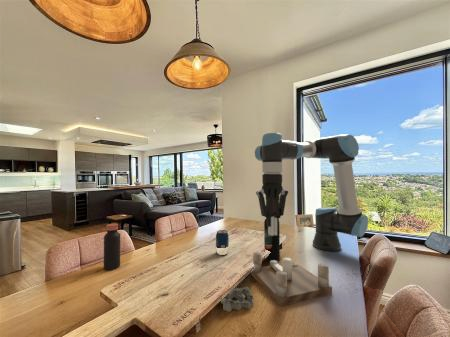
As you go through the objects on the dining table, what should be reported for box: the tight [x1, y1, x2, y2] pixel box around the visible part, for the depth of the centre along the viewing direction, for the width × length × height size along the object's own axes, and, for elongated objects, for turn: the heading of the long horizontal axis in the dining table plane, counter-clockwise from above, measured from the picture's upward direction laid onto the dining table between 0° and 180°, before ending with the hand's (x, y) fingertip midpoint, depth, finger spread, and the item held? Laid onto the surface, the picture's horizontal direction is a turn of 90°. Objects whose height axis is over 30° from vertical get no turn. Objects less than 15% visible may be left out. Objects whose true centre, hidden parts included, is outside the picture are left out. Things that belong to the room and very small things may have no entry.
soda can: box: [215, 229, 230, 248], centre depth 112 cm, size 7×7×12 cm
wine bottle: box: [263, 200, 281, 263], centre depth 104 cm, size 8×8×30 cm
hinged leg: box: [269, 257, 293, 280], centre depth 85 cm, size 13×4×7 cm, turn 18°
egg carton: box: [220, 286, 255, 313], centre depth 69 cm, size 11×8×4 cm
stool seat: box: [250, 251, 333, 307], centre depth 82 cm, size 23×23×10 cm
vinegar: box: [103, 222, 121, 271], centre depth 96 cm, size 7×7×20 cm
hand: (272, 234), depth 78 cm, fingers closed
